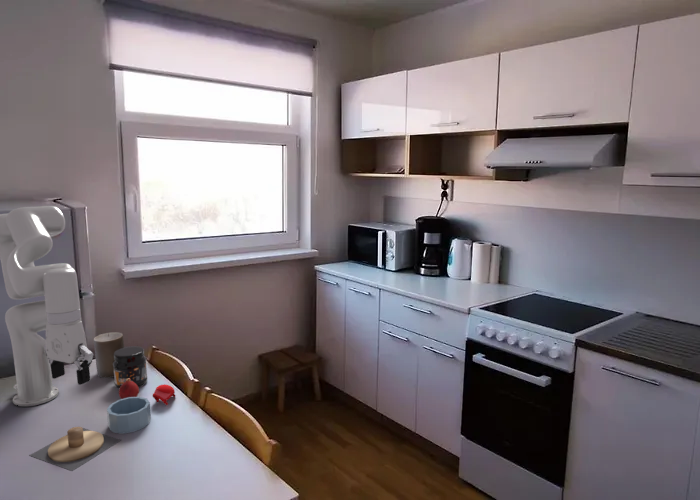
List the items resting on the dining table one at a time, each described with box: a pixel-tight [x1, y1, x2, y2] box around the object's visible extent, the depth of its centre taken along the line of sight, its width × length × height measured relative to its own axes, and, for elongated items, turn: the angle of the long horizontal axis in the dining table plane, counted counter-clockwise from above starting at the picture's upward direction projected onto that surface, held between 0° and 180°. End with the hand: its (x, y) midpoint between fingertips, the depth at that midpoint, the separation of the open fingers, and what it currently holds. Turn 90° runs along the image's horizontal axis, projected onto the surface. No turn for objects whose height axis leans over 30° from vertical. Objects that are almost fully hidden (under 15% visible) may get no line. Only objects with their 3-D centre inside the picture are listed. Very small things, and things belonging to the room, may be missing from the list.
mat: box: [29, 427, 122, 472], centre depth 132 cm, size 16×15×1 cm
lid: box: [48, 426, 104, 462], centre depth 131 cm, size 13×13×5 cm
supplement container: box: [113, 345, 148, 390], centre depth 169 cm, size 10×10×12 cm
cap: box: [152, 384, 177, 406], centre depth 158 cm, size 8×6×6 cm
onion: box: [118, 378, 140, 399], centre depth 157 cm, size 6×6×8 cm
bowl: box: [106, 396, 152, 434], centre depth 144 cm, size 11×11×6 cm
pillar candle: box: [93, 331, 125, 379], centre depth 178 cm, size 10×10×15 cm
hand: (71, 379), depth 129 cm, fingers open, 9 cm apart
